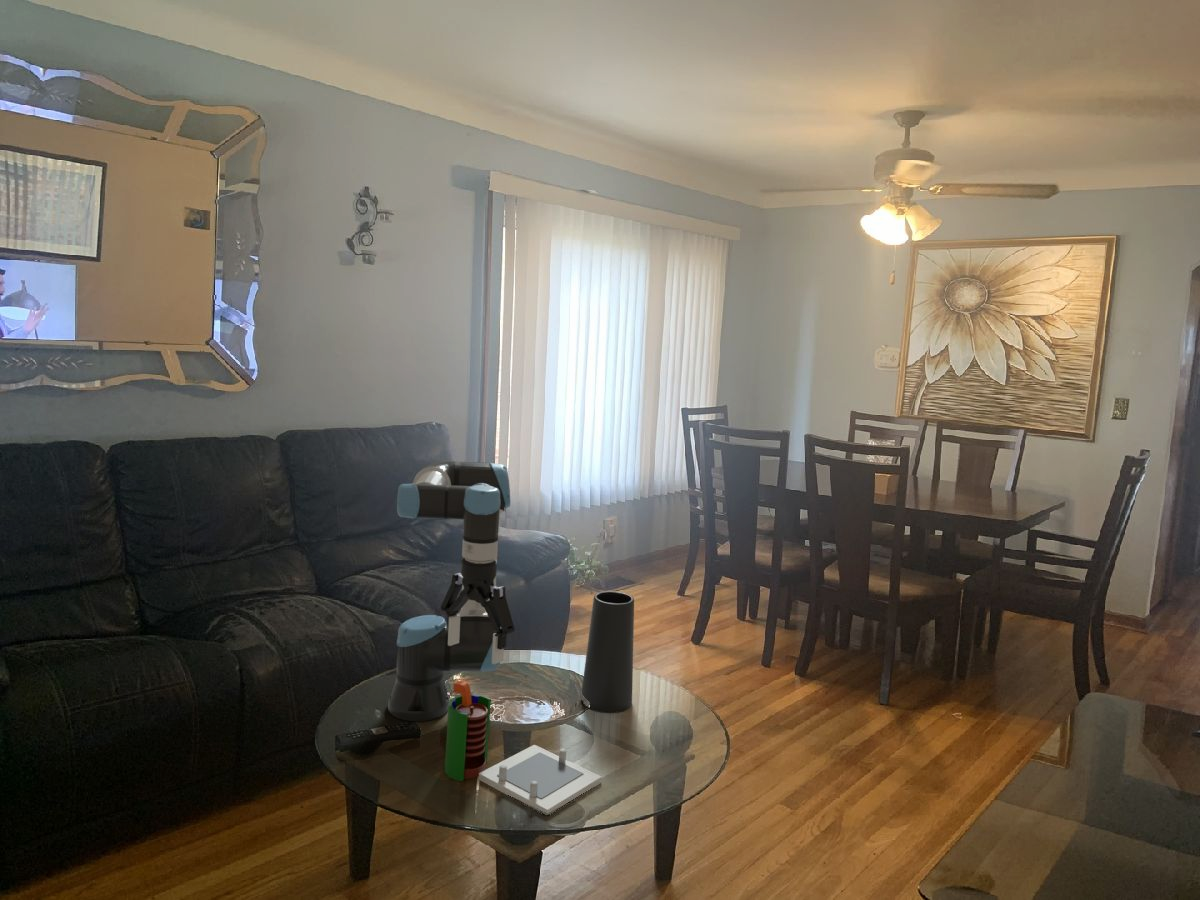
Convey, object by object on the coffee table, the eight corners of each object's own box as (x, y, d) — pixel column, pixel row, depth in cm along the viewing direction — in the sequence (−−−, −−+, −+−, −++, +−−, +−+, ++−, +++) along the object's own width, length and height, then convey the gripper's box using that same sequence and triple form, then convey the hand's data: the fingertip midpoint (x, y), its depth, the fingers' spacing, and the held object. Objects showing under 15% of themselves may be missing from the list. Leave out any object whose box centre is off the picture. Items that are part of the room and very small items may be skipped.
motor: (476, 784, 192) (480, 697, 189) (437, 777, 194) (441, 691, 191) (491, 761, 202) (495, 678, 199) (454, 755, 204) (458, 672, 200)
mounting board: (478, 779, 194) (479, 760, 193) (534, 750, 208) (535, 732, 207) (547, 816, 182) (548, 796, 181) (601, 782, 196) (602, 764, 195)
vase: (632, 714, 230) (640, 608, 225) (579, 711, 230) (587, 604, 225) (631, 692, 243) (639, 590, 238) (581, 688, 243) (588, 587, 238)
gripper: (426, 548, 194) (423, 641, 197) (509, 575, 179) (504, 675, 182) (452, 542, 200) (448, 632, 203) (534, 568, 185) (529, 665, 188)
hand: (474, 653), depth 193 cm, fingers open, 13 cm apart
